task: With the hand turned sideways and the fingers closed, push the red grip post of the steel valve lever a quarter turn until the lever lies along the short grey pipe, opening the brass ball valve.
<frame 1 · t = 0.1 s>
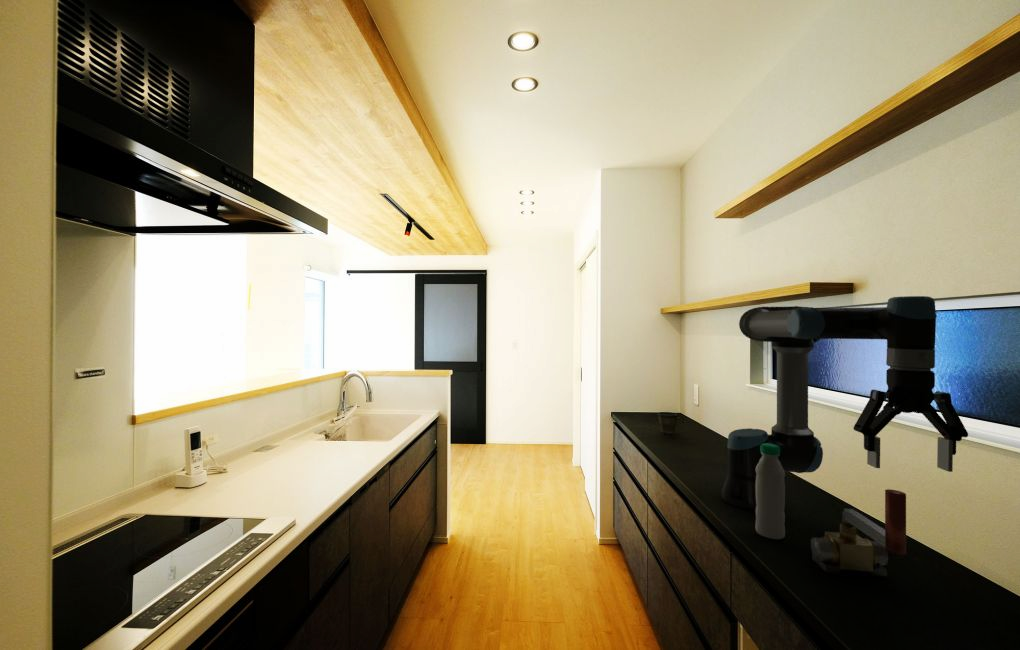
hand: (908, 468, 90), 28 cm above the worktop, tool pointing down, fingers open, 13 cm apart
water bottle: (770, 534, 119), on the worktop
ceramic cup: (670, 432, 232), on the worktop
valve body: (848, 567, 102), on the worktop
valve lever: (870, 510, 94), point 17 cm above the worktop, hinge at 0.0°
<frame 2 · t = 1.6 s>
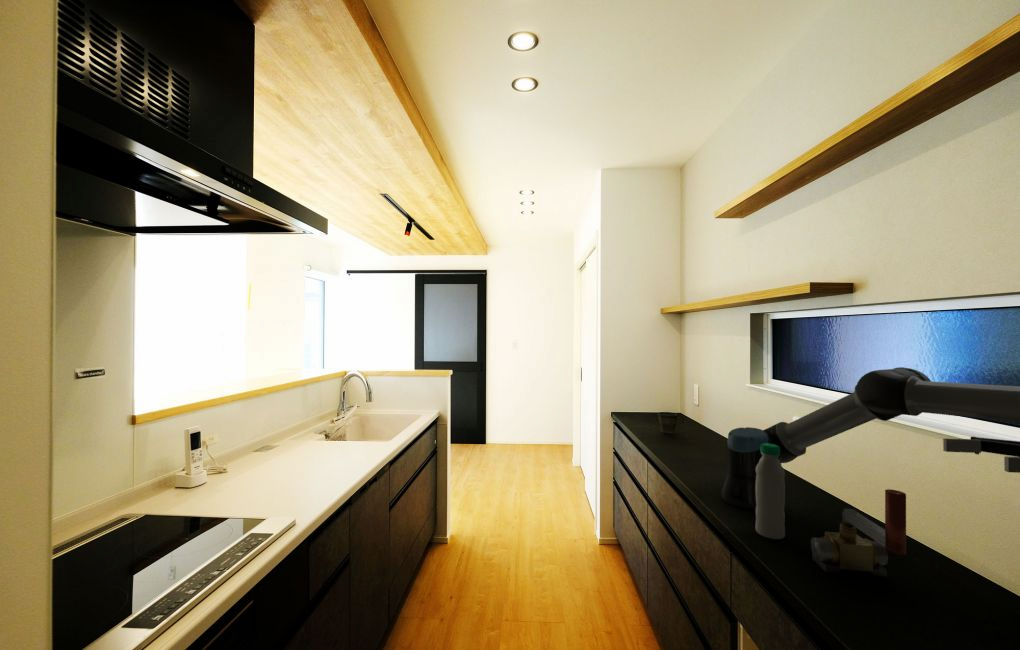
hand: (973, 453, 85), 33 cm above the worktop, tool horizontal, fingers open, 12 cm apart
nothing on the worktop moved.
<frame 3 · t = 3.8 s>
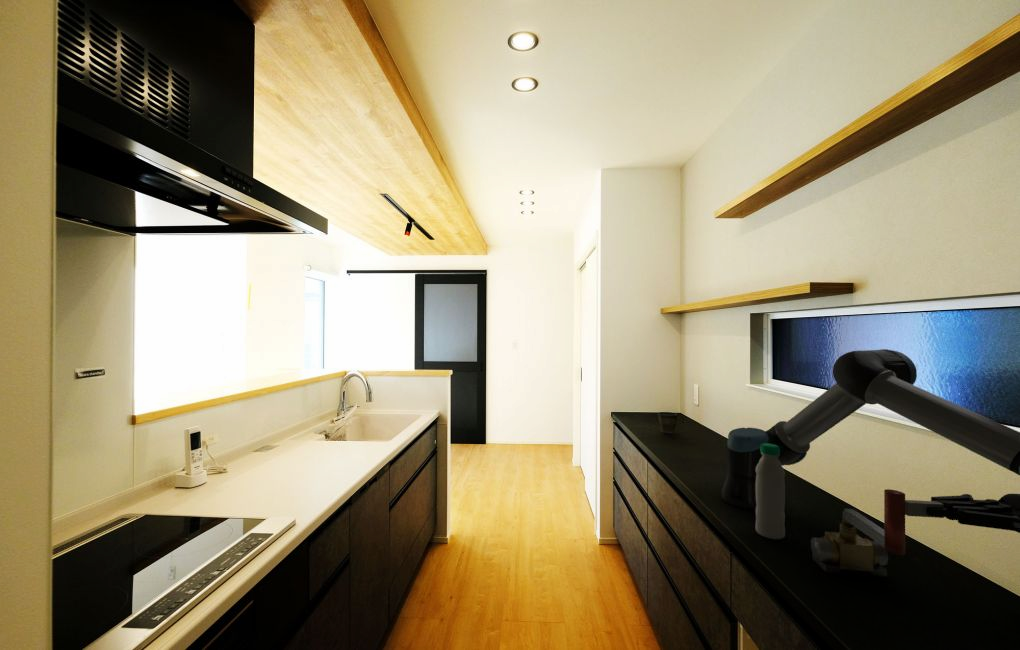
hand: (905, 507, 87), 21 cm above the worktop, tool horizontal, fingers closed
valve lever: (870, 510, 94), point 17 cm above the worktop, hinge at -0.6°, touching gripper
everything else where it was.
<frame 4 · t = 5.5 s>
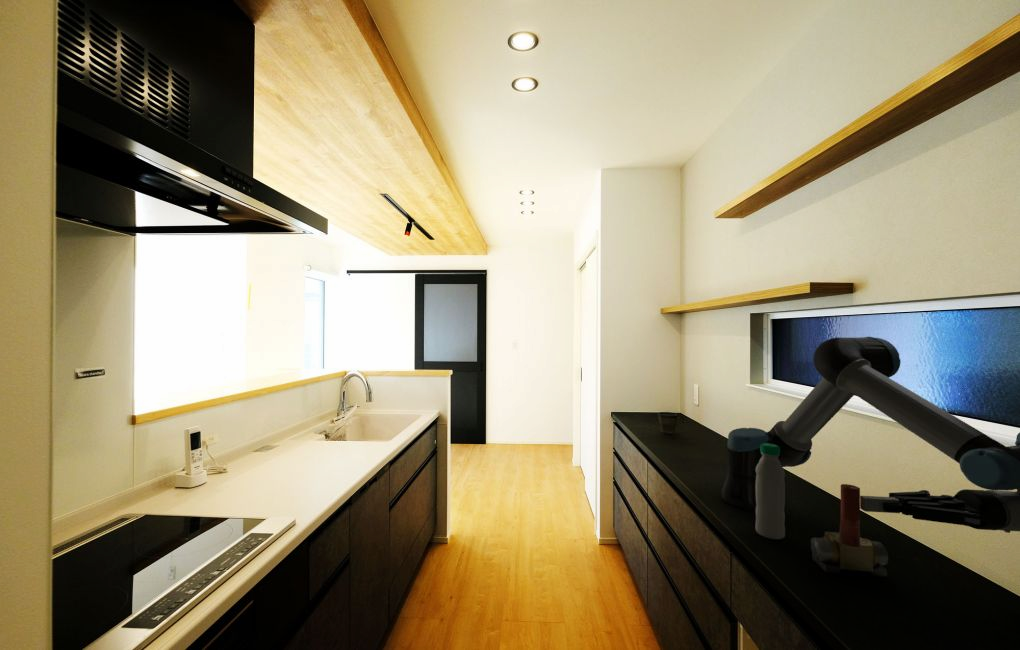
hand: (862, 503, 89), 21 cm above the worktop, tool horizontal, fingers closed
valve lever: (849, 507, 96), point 17 cm above the worktop, hinge at -29.3°, touching gripper
everything else where it was.
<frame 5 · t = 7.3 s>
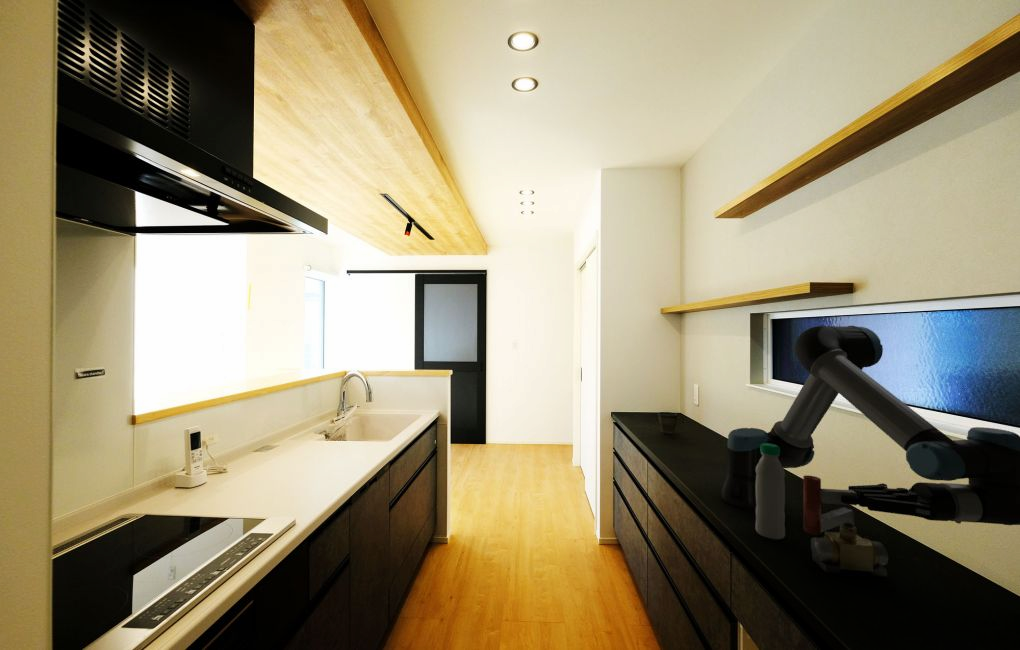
hand: (822, 496, 93), 21 cm above the worktop, tool horizontal, fingers closed
valve lever: (830, 502, 99), point 17 cm above the worktop, hinge at -55.7°, touching gripper
everything else where it was.
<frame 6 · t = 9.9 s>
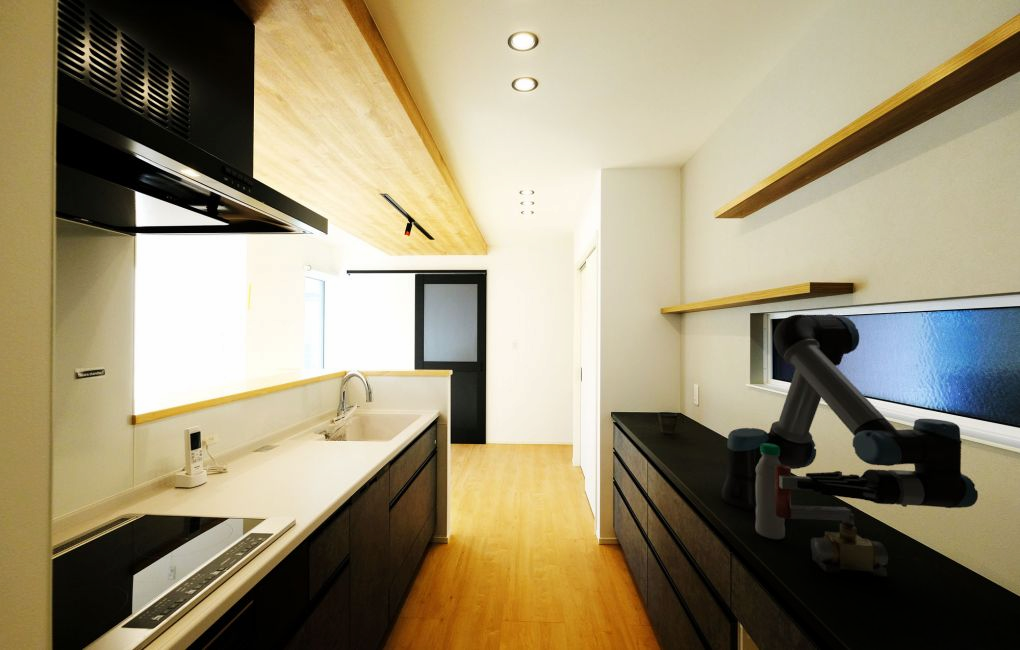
hand: (780, 482, 101), 21 cm above the worktop, tool horizontal, fingers closed
valve lever: (814, 495, 103), point 17 cm above the worktop, hinge at -86.5°, touching gripper
everything else where it was.
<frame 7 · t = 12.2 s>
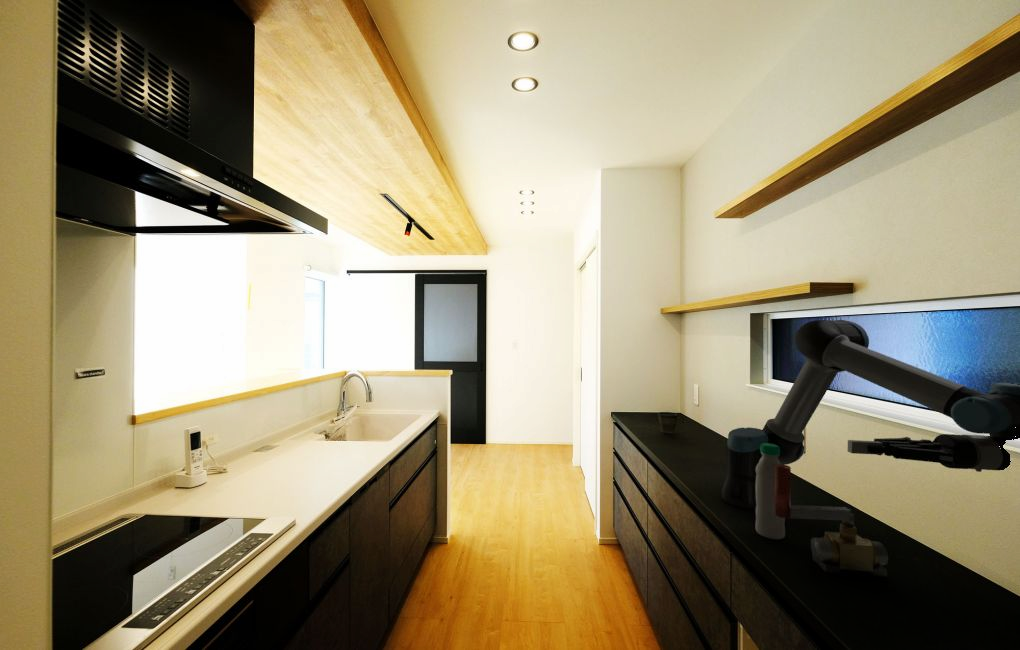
hand: (849, 446, 99), 30 cm above the worktop, tool horizontal, fingers closed
valve lever: (814, 495, 103), point 17 cm above the worktop, hinge at -86.9°
everything else where it was.
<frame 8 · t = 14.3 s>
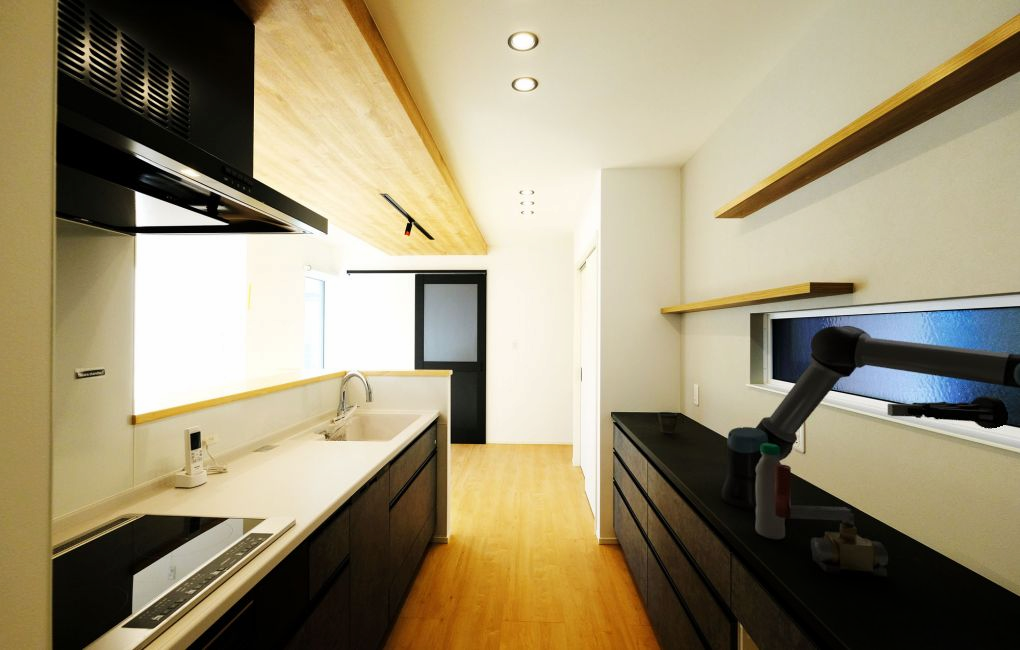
hand: (889, 409, 103), 38 cm above the worktop, tool horizontal, fingers closed
nothing on the worktop moved.
at the end: valve lever at -87° (first picture: +0°); water bottle moved 0.2 cm from its start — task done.
